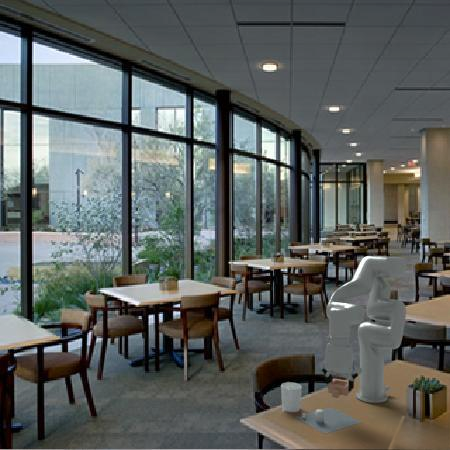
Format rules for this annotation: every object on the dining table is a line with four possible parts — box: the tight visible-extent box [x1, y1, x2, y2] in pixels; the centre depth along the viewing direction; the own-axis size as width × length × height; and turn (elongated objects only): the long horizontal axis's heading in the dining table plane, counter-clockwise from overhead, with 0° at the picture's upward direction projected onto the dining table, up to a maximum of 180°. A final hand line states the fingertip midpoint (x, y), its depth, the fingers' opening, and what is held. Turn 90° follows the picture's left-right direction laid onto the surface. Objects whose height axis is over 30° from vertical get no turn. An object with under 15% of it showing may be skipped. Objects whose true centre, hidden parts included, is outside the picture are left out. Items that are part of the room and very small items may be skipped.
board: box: [294, 407, 363, 435], centre depth 173 cm, size 18×16×5 cm
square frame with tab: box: [327, 377, 351, 399], centre depth 174 cm, size 10×7×3 cm
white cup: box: [280, 382, 303, 413], centre depth 184 cm, size 8×8×10 cm
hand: (340, 388), depth 175 cm, fingers closed on square frame with tab, 7 cm apart
